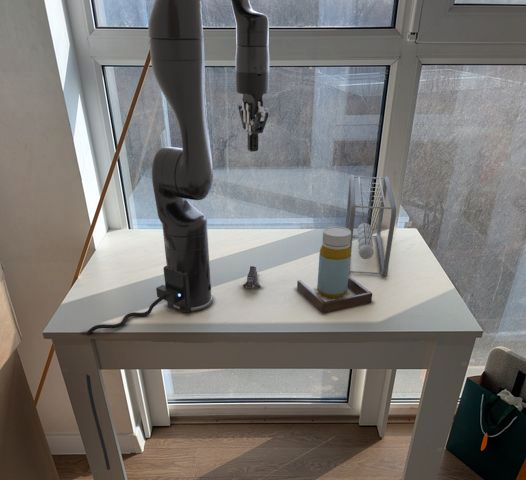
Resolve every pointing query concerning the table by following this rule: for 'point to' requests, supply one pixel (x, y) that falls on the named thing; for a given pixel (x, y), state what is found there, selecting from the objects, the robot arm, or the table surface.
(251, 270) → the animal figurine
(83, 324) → the table surface
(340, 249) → the bottle
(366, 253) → the newton's cradle
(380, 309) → the table surface
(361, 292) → the bay
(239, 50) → the robot arm
